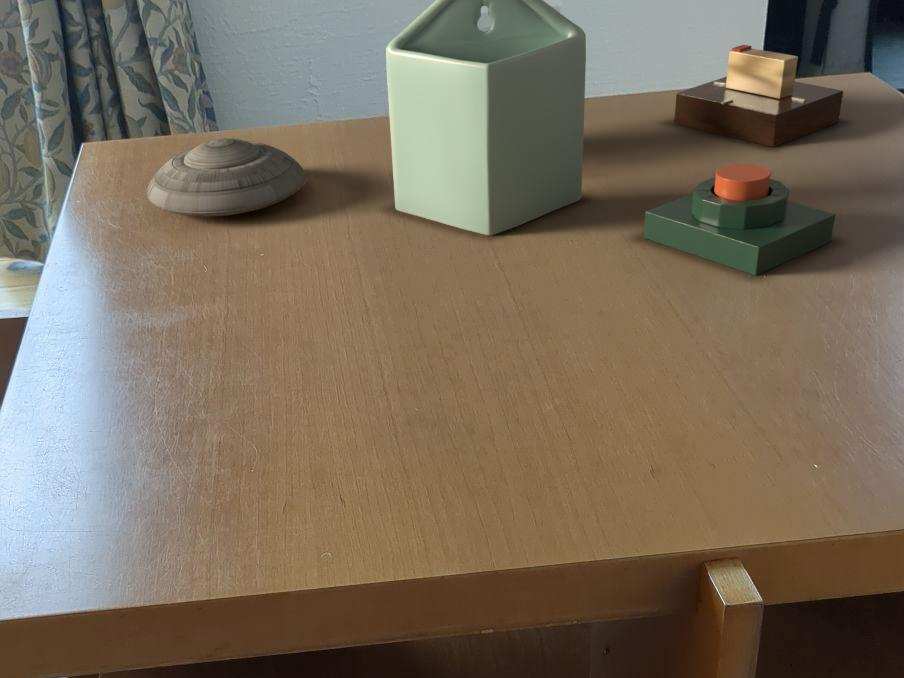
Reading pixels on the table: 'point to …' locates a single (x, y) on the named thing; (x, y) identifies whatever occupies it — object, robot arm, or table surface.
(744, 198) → the button
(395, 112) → the planter
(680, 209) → the button block
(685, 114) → the panel
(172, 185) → the flying saucer
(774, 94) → the handle
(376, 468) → the table surface
